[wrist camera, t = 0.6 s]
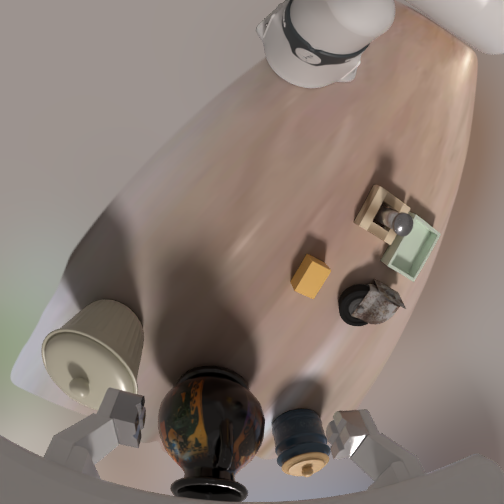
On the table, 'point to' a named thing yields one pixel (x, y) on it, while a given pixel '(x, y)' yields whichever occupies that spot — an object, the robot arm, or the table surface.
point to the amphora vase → (211, 432)
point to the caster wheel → (368, 304)
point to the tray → (411, 249)
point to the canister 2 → (300, 442)
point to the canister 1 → (95, 352)
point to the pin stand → (371, 209)
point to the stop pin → (395, 220)
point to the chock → (310, 276)
